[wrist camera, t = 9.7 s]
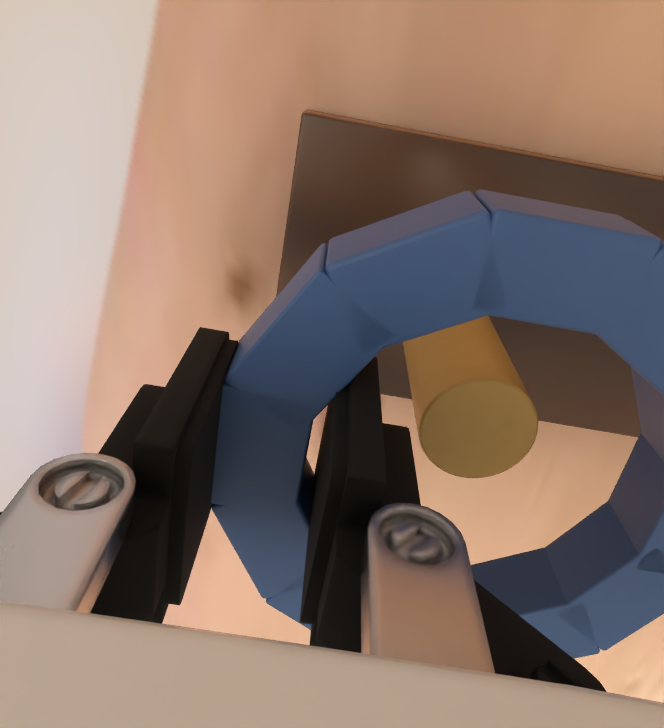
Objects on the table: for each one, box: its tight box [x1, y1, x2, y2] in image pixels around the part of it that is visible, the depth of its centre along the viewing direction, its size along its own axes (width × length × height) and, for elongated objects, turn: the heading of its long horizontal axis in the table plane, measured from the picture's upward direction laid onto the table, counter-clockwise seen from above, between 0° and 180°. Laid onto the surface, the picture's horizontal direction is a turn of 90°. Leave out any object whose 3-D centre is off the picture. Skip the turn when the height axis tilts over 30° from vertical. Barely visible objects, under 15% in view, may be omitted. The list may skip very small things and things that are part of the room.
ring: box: [211, 189, 664, 659], centre depth 11 cm, size 10×10×2 cm
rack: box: [276, 110, 664, 478], centre depth 17 cm, size 9×19×10 cm, turn 80°
